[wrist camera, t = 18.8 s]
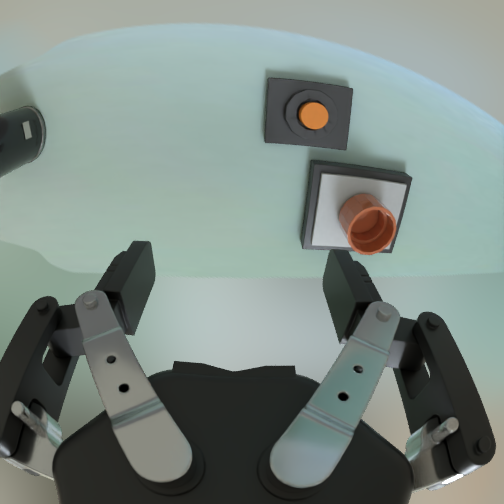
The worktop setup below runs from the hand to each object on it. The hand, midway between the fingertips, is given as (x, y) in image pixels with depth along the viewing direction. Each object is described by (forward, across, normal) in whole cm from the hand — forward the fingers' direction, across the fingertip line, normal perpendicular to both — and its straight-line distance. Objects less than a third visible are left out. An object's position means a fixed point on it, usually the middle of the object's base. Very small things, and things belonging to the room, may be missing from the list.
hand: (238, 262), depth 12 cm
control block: (+24, -7, -5) cm, 26 cm away
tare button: (+22, -7, -5) cm, 23 cm away
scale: (+24, -15, +7) cm, 29 cm away
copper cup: (+22, -15, +7) cm, 27 cm away
